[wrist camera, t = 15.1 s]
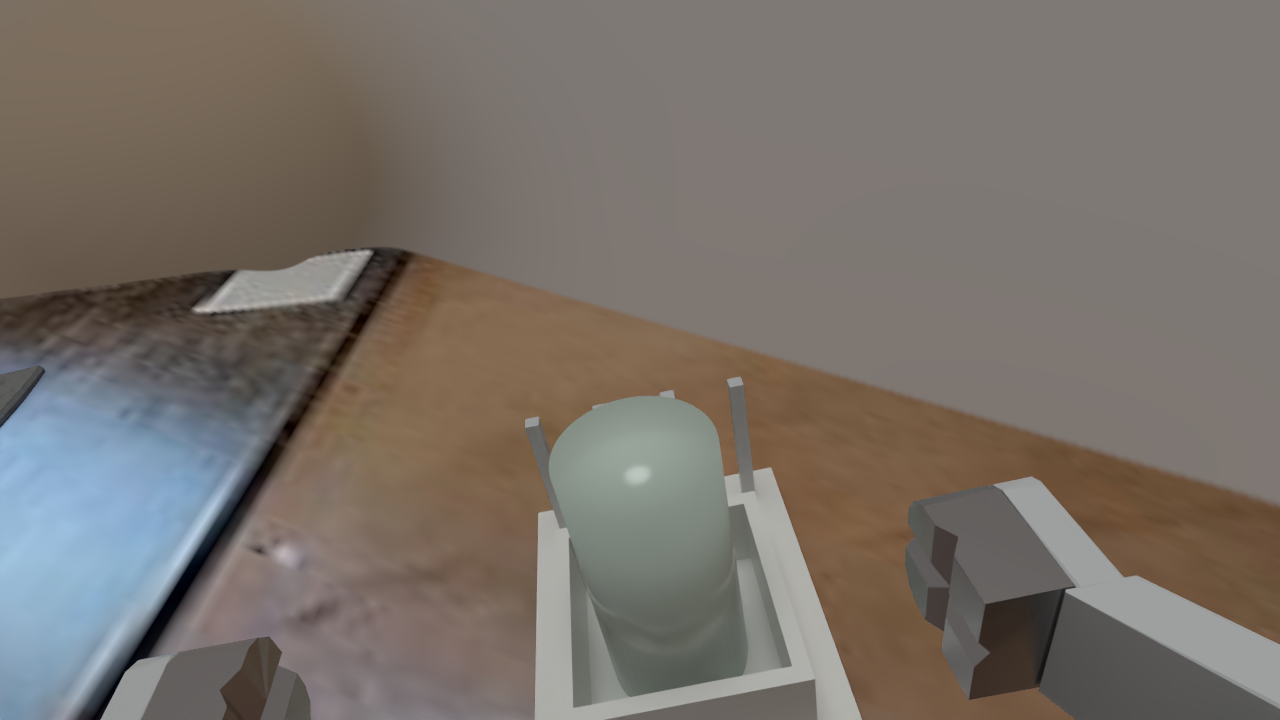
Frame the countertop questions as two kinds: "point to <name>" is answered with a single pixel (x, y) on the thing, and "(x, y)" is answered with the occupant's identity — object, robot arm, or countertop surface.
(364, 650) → the countertop surface
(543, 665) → the dish rack
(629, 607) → the sage green cylinder
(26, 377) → the cleaver
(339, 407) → the countertop surface
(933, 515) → the robot arm
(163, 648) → the countertop surface
